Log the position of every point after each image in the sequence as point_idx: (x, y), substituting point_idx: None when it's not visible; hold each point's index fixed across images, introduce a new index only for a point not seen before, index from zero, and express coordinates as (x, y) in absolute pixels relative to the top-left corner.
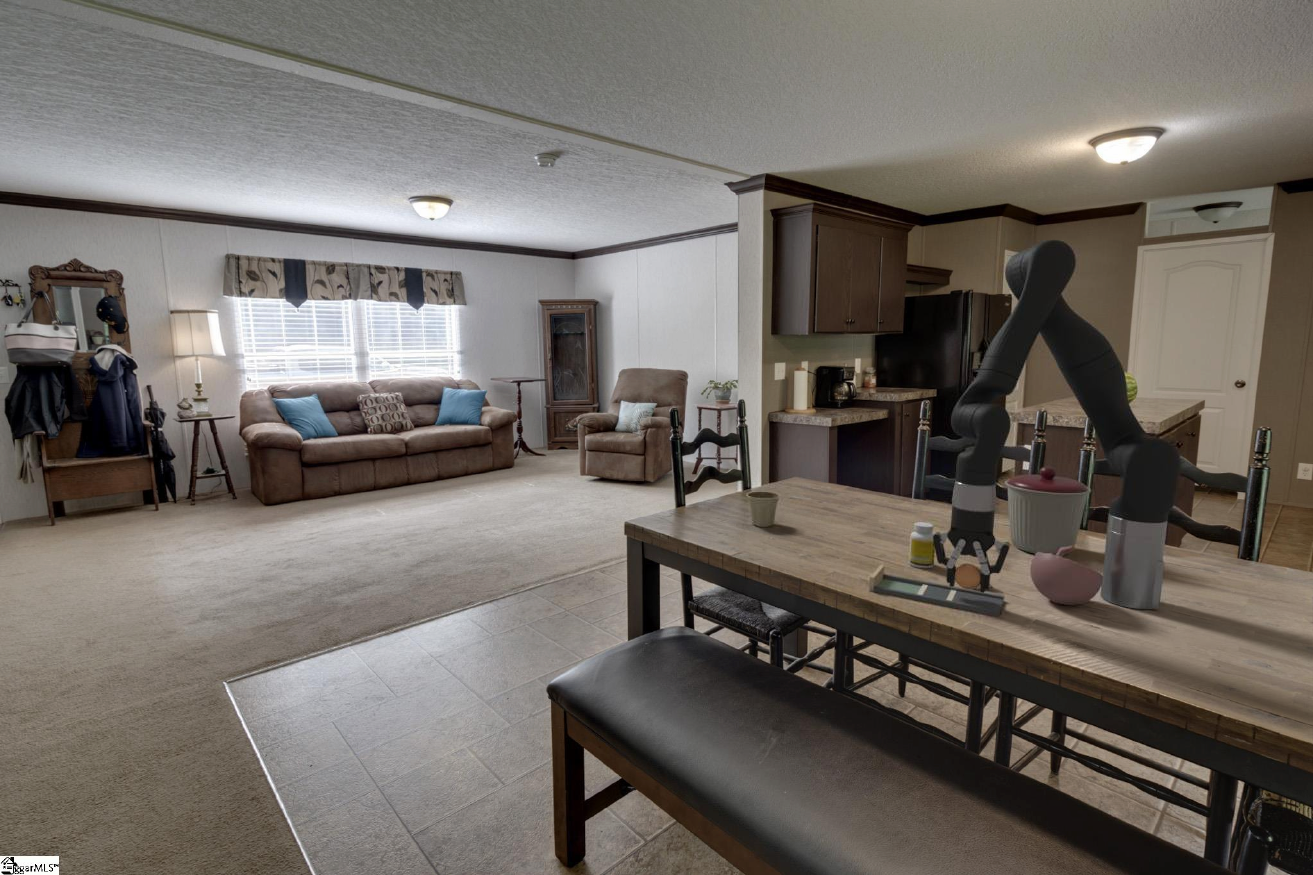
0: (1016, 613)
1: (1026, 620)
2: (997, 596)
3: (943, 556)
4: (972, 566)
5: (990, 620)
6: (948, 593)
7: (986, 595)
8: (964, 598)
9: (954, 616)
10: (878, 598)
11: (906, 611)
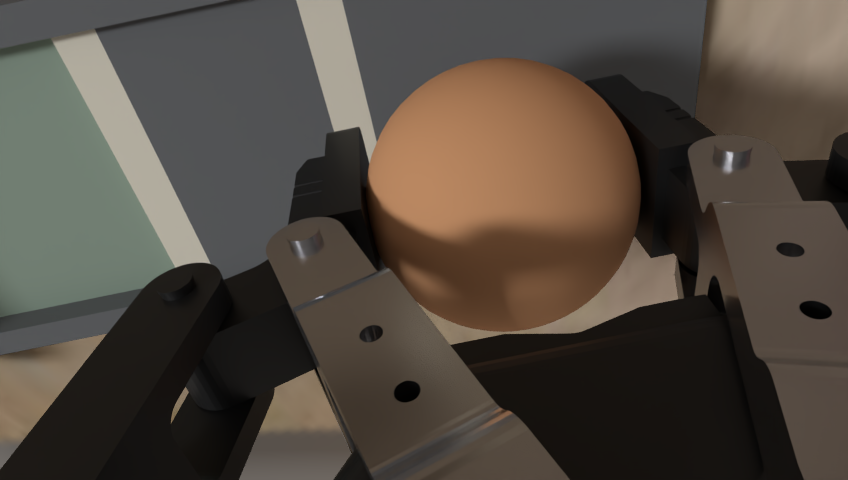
0: (781, 66)
1: (825, 138)
2: None
3: (215, 360)
4: (576, 292)
5: (633, 269)
6: (316, 94)
7: None
8: None
9: (466, 339)
10: (56, 396)
11: (265, 426)
